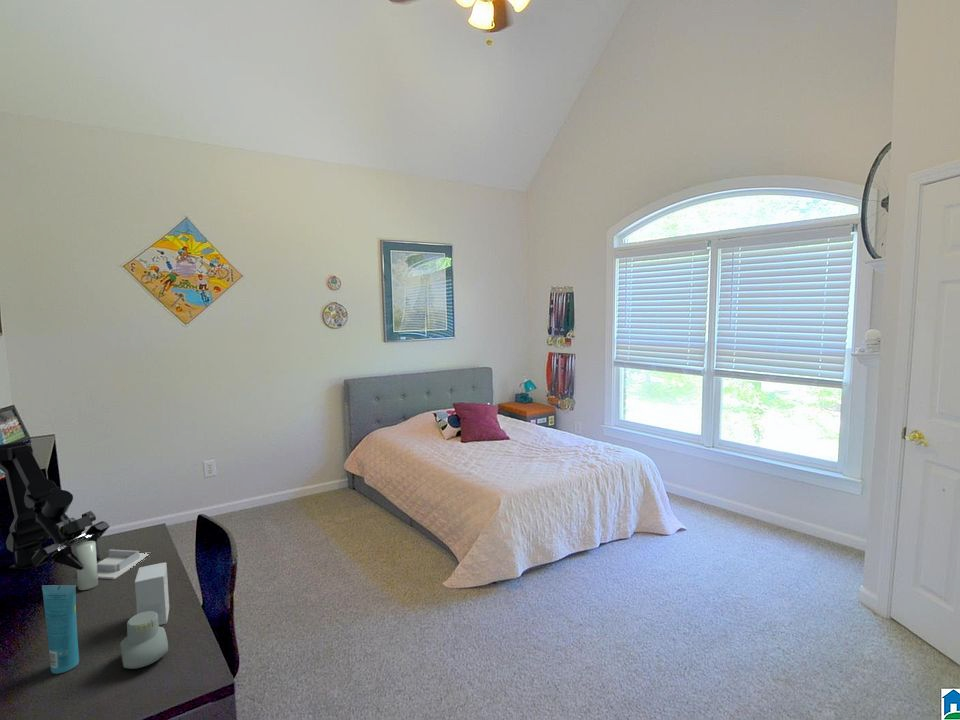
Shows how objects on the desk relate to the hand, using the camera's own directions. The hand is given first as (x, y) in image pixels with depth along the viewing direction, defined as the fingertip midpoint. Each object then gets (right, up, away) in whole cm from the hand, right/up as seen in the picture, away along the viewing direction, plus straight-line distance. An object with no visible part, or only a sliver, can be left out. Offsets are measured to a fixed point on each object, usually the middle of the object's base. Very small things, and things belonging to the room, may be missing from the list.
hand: (90, 564), depth 142 cm
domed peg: (-1, -7, +1) cm, 7 cm away
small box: (+27, -9, -14) cm, 32 cm away
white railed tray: (-2, -6, +13) cm, 14 cm away
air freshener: (+35, -10, -28) cm, 46 cm away
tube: (+19, -10, -31) cm, 38 cm away
